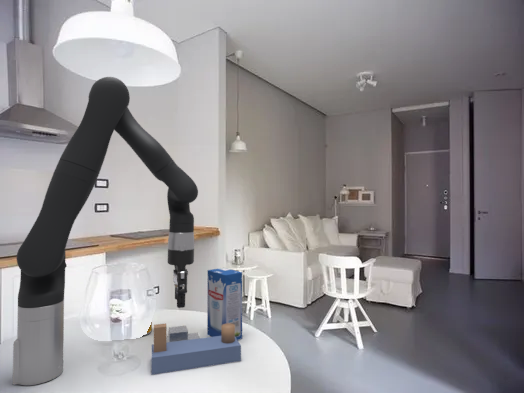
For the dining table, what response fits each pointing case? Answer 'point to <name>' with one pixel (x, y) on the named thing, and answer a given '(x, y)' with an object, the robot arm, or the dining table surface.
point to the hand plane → (193, 350)
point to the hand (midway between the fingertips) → (179, 303)
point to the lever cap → (180, 334)
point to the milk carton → (224, 301)
